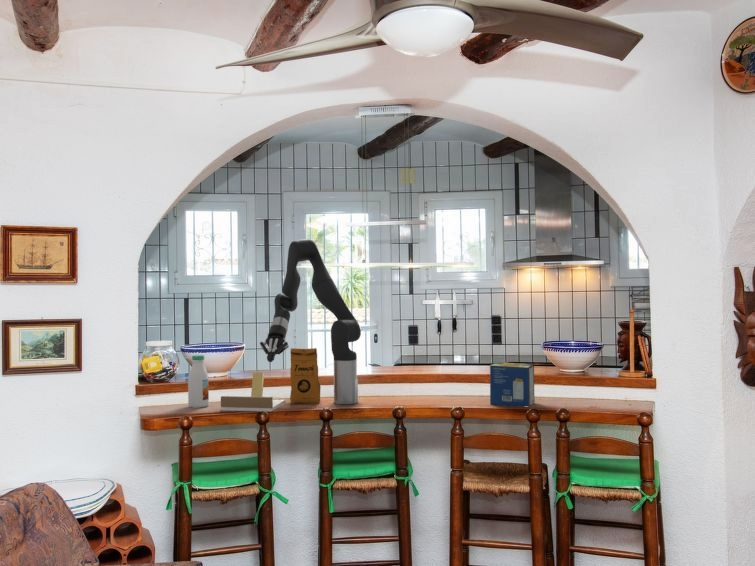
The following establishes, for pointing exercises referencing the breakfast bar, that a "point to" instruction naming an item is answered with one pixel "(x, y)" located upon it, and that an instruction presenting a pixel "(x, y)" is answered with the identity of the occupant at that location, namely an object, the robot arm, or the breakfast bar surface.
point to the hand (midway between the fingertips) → (269, 360)
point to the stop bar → (257, 385)
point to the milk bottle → (198, 383)
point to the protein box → (512, 384)
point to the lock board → (249, 403)
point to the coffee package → (304, 376)
